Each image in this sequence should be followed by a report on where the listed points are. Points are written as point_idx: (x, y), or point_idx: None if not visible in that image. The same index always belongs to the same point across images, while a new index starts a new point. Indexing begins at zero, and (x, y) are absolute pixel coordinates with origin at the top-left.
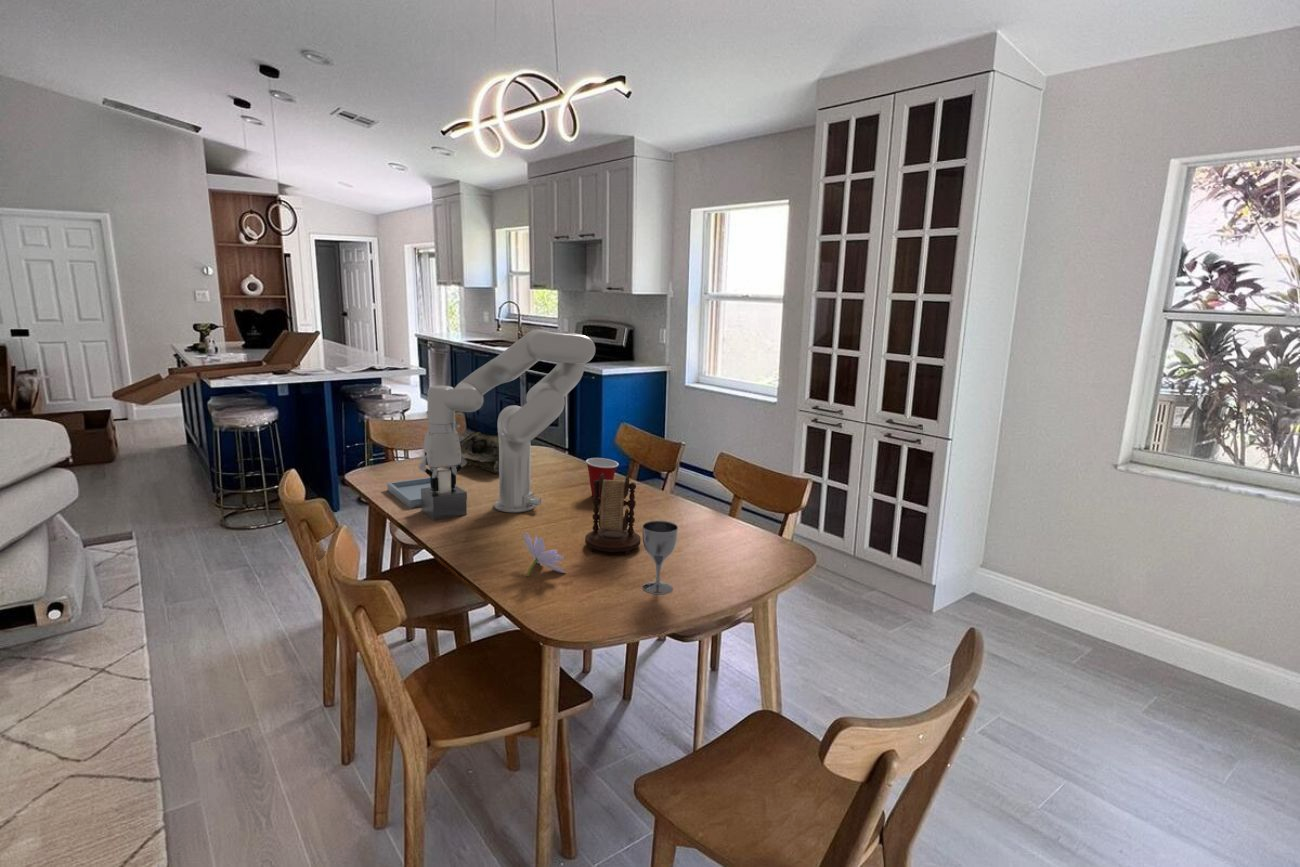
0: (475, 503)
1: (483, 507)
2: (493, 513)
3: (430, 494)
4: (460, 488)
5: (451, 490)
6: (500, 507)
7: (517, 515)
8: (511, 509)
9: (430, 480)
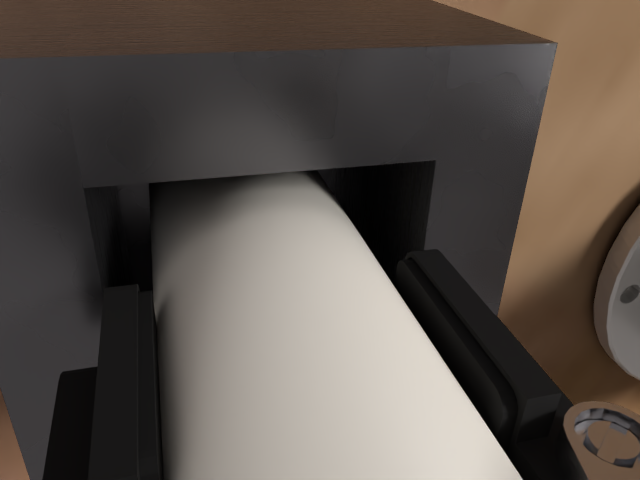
0: (598, 29)
1: (572, 175)
2: (535, 328)
3: (33, 442)
4: (496, 312)
5: (407, 218)
6: (615, 323)
7: (608, 400)
8: (633, 376)
9: (45, 466)
